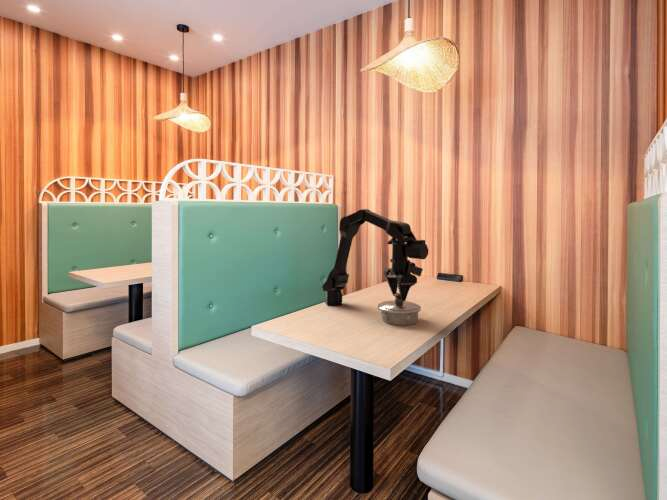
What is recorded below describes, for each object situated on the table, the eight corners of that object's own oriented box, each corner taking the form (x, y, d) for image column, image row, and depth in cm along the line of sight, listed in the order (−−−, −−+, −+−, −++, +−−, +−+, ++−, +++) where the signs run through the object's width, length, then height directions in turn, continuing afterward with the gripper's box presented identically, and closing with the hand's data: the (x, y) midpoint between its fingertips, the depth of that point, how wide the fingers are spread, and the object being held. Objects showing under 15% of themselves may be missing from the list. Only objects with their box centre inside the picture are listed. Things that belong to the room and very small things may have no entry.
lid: (386, 315, 132) (386, 299, 131) (372, 304, 147) (372, 290, 147) (428, 312, 135) (428, 298, 134) (410, 302, 150) (410, 289, 150)
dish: (389, 314, 151) (389, 301, 151) (422, 319, 144) (423, 306, 144) (374, 323, 139) (374, 309, 138) (410, 329, 132) (410, 315, 131)
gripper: (431, 259, 131) (430, 303, 133) (410, 253, 150) (409, 292, 151) (401, 260, 129) (400, 304, 131) (383, 254, 147) (382, 293, 149)
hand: (398, 298), depth 140 cm, fingers open, 9 cm apart
